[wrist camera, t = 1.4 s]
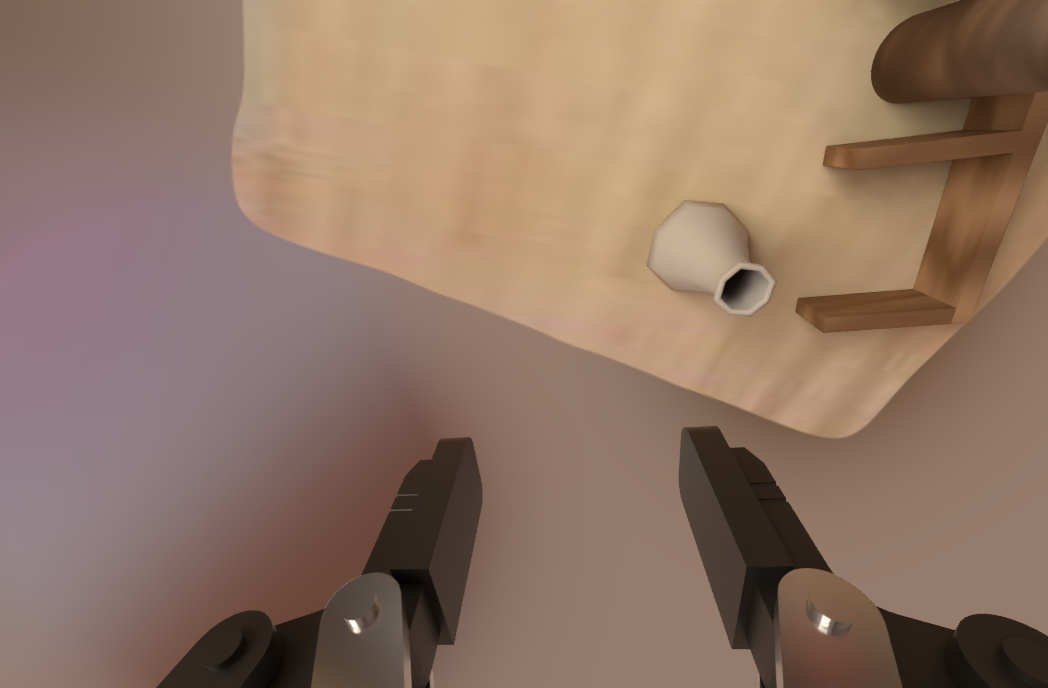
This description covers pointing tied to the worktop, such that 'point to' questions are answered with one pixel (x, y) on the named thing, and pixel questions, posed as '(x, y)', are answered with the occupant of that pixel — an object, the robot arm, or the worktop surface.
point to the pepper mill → (965, 52)
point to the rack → (946, 214)
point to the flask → (710, 257)
